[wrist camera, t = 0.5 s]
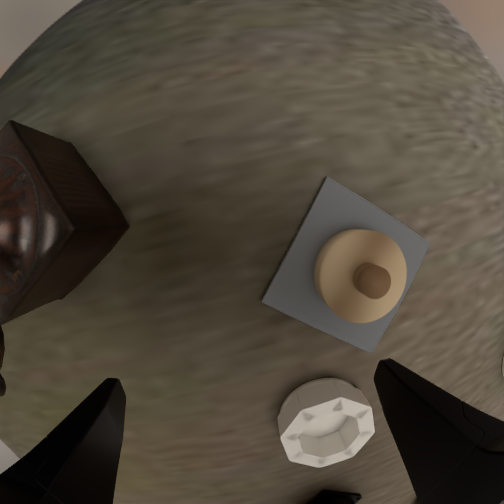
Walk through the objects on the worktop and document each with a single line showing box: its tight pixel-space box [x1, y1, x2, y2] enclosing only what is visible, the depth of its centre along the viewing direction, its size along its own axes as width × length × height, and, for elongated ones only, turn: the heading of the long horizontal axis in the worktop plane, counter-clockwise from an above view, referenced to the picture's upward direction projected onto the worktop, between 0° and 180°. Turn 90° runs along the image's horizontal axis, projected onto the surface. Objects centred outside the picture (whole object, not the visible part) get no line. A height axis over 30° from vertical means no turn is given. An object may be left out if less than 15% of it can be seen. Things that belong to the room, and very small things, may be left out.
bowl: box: [277, 378, 375, 468], centre depth 23 cm, size 8×8×4 cm
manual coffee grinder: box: [0, 120, 129, 396], centre depth 14 cm, size 16×11×18 cm
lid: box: [313, 229, 407, 323], centre depth 21 cm, size 7×7×5 cm
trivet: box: [261, 177, 430, 353], centre depth 23 cm, size 11×11×1 cm
